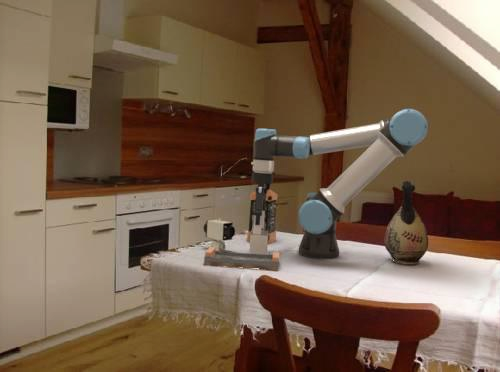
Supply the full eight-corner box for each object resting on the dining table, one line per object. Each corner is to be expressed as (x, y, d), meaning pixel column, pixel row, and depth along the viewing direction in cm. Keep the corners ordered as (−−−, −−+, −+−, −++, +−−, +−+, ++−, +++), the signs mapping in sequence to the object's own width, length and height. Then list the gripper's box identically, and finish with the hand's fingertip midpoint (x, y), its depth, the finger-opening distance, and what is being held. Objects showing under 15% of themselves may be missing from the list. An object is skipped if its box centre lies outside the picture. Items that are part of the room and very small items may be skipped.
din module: (266, 255, 190) (268, 230, 189) (265, 257, 185) (267, 232, 184) (250, 253, 190) (251, 229, 190) (249, 256, 186) (250, 231, 185)
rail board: (279, 262, 178) (279, 251, 178) (277, 271, 166) (278, 258, 166) (210, 257, 180) (210, 246, 180) (203, 265, 168) (204, 253, 168)
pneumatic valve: (226, 254, 187) (227, 221, 186) (202, 248, 194) (203, 217, 193) (235, 252, 192) (237, 219, 191) (211, 247, 199) (213, 215, 198)
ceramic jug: (384, 255, 200) (390, 178, 198) (426, 260, 195) (433, 181, 193) (380, 264, 184) (386, 180, 182) (426, 270, 179) (433, 183, 177)
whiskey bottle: (268, 244, 210) (273, 165, 208) (245, 241, 214) (250, 163, 211) (276, 240, 220) (281, 165, 217) (254, 238, 223) (258, 163, 221)
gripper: (255, 169, 198) (251, 224, 200) (248, 173, 173) (244, 235, 175) (275, 171, 197) (270, 226, 199) (271, 174, 173) (266, 237, 174)
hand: (258, 231), depth 187 cm, fingers open, 13 cm apart
